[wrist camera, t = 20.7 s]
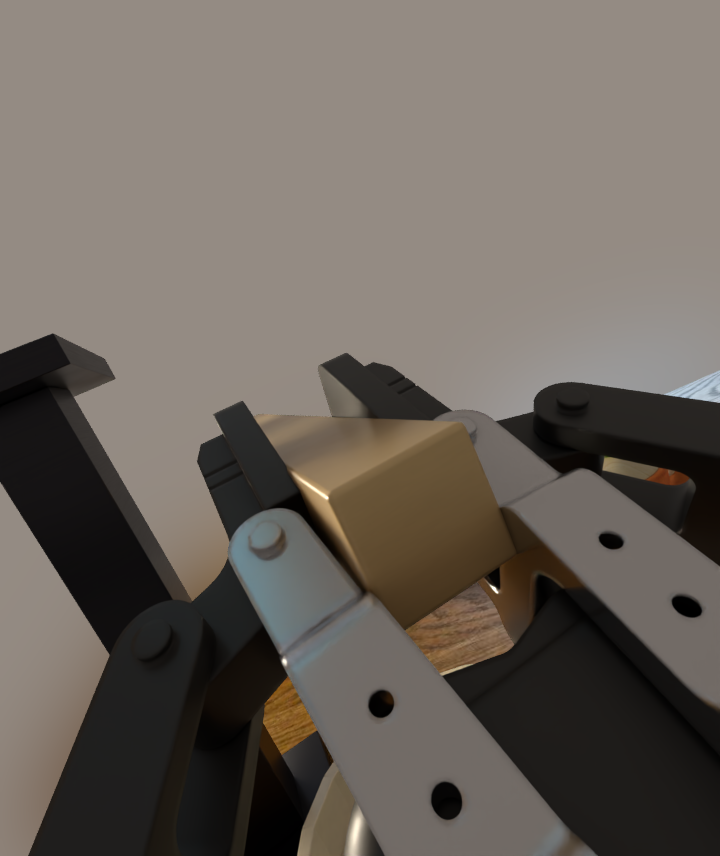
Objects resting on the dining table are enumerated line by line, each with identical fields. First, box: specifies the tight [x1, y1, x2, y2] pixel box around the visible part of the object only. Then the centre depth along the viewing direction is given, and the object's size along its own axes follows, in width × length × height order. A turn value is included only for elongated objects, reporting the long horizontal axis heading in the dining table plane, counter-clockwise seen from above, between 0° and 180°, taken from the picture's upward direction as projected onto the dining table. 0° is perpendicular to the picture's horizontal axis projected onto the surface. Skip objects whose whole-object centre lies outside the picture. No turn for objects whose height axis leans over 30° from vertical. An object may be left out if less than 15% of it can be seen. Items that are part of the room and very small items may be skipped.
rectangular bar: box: [254, 414, 516, 630], centre depth 17 cm, size 24×2×2 cm, turn 20°
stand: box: [0, 334, 332, 856], centre depth 28 cm, size 11×9×32 cm
